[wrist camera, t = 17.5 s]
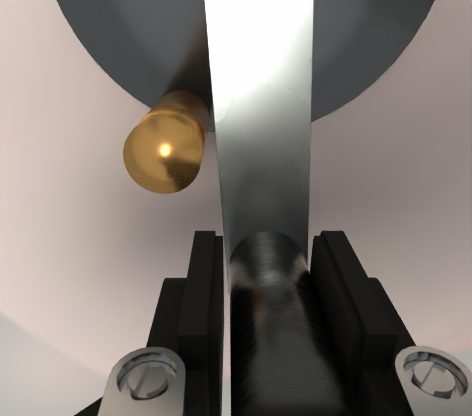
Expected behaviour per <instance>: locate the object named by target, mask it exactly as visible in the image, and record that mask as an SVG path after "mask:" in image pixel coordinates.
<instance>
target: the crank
mask: <svg viewBox="0 0 472 416" xmlns="http://www.w3.org/2000/svg"><path fill="white" fill-rule="evenodd" d="M205 5H206V18H207V30H208V43H209V55H210V68H211V80H212V92H213V105H214V117H215V130H216V142H217V155H218V167H219V179H220V192H221V204H222V217H223V229H224V242H225V254H226V266H227V279H228V291H229V294H230V347H231V416H356V414H355V411H354V408H353V405H352V402H351V399H350V396H349V392H348V389H347V386H346V383H345V380H344V377H343V374H342V371H341V368H340V365H339V362H338V359H337V356H336V353H335V350H334V347H333V344H332V341H331V338H330V335H329V331H328V328H327V325H326V322H325V319H324V316H323V313H322V310H321V307H320V304H319V301H318V298H317V295H316V292H315V289H314V286H313V283H312V280H311V277H310V274H309V270H308V267H307V261H308V217H309V172H310V128H311V84H312V39H313V0H205Z"/></svg>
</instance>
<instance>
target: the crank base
mask: <svg viewBox="0 0 472 416" xmlns="http://www.w3.org/2000/svg"><path fill="white" fill-rule="evenodd" d="M57 2H58V4H59V6H60V8H61V10H62V13H63V14H64V16H65V18H66V19H67V21H68V23H69V24H70V26H71V28H72V29H73V31H74V33H75V34H76V36H77V38H78V39H79V41H80V42H81V43H82V44H83V46H84V47H85V48H86V50H87V51H88V52H89V54H90V55H91V56H92V58H93V59H94V60H95V61H96V62H97V64H98V65H99V66H100V67H101V68H102V69H103V70H104V71H105V72H106V73H107V74H108V75H109V76H110V77H111V78H112V79H113V80H114V81H115V82H116V83H117V84H119V85H120V86H121V87H122V88H123V89H125V90H126V91H127V92H128V93H129V94H131V95H132V96H133V97H134V98H136V99H137V100H139V101H141V102H142V103H144V104H145V105H147V106H148V107H150V108H151V109H152V110H151V111H150V112H149V113H148V114H147V115H146V116H145V117H144V118H143V120H142V121H141V122H140V123H139V124H138V125H137V126H136V127H135V128H134V129H133V131H132V132H131V133H130V134H129V136H128V138H127V139H126V142H125V145H124V151H123V157H124V163H125V166H126V169H127V171H128V173H129V174H130V176H131V177H132V178H133V180H134V181H135V182H136V183H138V184H139V185H140V186H142V187H143V188H145V189H147V190H149V191H152V192H155V193H162V194H168V193H175V192H178V191H180V190H182V189H184V188H186V187H187V186H189V185H190V184H191V183H192V182H193V181H194V179H195V178H196V176H197V174H198V172H199V169H200V165H201V160H202V155H203V150H204V145H205V139H206V134H207V130H208V131H213V132H216V130H215V117H214V105H213V92H212V80H211V68H210V55H209V43H208V30H207V18H206V5H205V0H57ZM433 3H434V0H313V39H312V84H311V122H313V121H315V120H317V119H319V118H321V117H323V116H325V115H327V114H329V113H332V112H334V111H335V110H337V109H339V108H340V107H342V106H343V105H345V104H346V103H348V102H350V101H351V100H353V99H354V98H356V97H357V96H358V95H359V94H361V93H362V92H363V91H364V90H366V89H367V88H368V87H369V86H371V85H372V84H373V83H374V82H375V81H376V80H377V79H378V78H379V77H380V76H381V75H382V74H383V73H384V72H385V71H386V70H387V69H388V68H389V67H390V66H391V65H392V64H393V63H394V62H395V61H396V60H397V58H398V57H399V56H400V54H401V53H402V52H403V51H404V49H405V48H406V47H407V46H408V44H409V43H410V42H411V40H412V39H413V37H414V36H415V34H416V32H417V31H418V29H419V28H420V26H421V25H422V23H423V21H424V20H425V18H426V17H427V15H428V13H429V11H430V9H431V7H432V5H433Z"/></svg>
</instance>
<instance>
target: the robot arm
mask: <svg viewBox="0 0 472 416" xmlns="http://www.w3.org/2000/svg"><path fill="white" fill-rule="evenodd" d="M310 277H311V280H312V283H313V286H314V289H315V292H316V295H317V298H318V301H319V304H320V307H321V310H322V313H323V316H324V319H325V322H326V325H327V328H328V331H329V335H330V338H331V341H332V344H333V347H334V350H335V353H336V356H337V359H338V362H339V365H340V368H341V371H342V374H343V377H344V380H345V383H346V386H347V389H348V392H349V396H350V399H351V402H352V405H353V408H354V411H355V414H356V416H472V373H471V371H470V370H469V369H468V368H467V367H466V365H464V364H463V363H462V362H461V361H459V360H458V359H457V358H455V357H454V356H452V355H450V354H448V353H446V352H444V351H442V350H439V349H436V348H433V347H426V346H416V345H415V343H414V341H413V339H412V337H411V336H410V334H409V332H408V330H407V329H406V327H405V325H404V323H403V322H402V320H401V318H400V316H399V315H398V313H397V311H396V309H395V308H394V306H393V304H392V302H391V301H390V299H389V297H388V295H387V294H386V292H385V290H384V288H383V287H382V285H381V283H380V282H379V280H378V279H377V278H368V277H367V275H366V273H365V271H364V269H363V267H362V265H361V263H360V262H359V260H358V258H357V256H356V254H355V252H354V250H353V248H352V247H351V245H350V243H349V241H348V239H347V237H346V235H345V233H344V232H343V231H322V232H321V234H320V236H314V239H313V247H312V257H311V267H310ZM223 339H224V277H223V236H216V234H215V231H195V235H194V241H193V246H192V252H191V257H190V263H189V269H188V274H187V278H165V279H164V282H163V285H162V289H161V293H160V296H159V300H158V304H157V308H156V311H155V315H154V319H153V323H152V326H151V330H150V334H149V338H148V341H147V345H146V348H141V349H138V350H136V351H133V352H130V353H129V354H127V355H126V356H124V357H123V358H121V359H120V360H119V361H118V363H117V364H116V365H115V366H114V367H113V369H112V371H111V373H110V375H109V378H108V381H107V385H106V388H105V392H104V395H103V397H102V398H100V399H98V400H97V401H95V402H94V403H92V404H91V405H89V406H88V407H86V408H85V409H83V410H82V411H80V412H79V413H77V414H76V415H74V416H221V411H222V375H223Z"/></svg>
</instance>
